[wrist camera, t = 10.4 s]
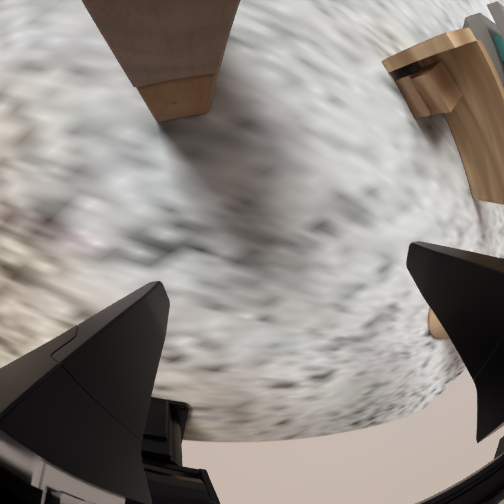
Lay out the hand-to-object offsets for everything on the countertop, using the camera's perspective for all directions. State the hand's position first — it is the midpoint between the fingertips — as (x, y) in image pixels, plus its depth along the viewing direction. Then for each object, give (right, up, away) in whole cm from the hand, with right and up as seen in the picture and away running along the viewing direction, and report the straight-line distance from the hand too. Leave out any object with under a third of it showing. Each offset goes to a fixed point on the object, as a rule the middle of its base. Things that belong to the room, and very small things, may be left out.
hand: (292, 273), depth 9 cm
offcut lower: (+13, +15, +10) cm, 22 cm away
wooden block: (-7, +15, +6) cm, 17 cm away
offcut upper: (+14, +15, +8) cm, 22 cm away
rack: (+17, +12, +11) cm, 24 cm away
